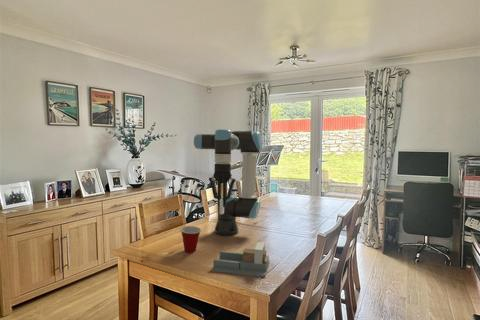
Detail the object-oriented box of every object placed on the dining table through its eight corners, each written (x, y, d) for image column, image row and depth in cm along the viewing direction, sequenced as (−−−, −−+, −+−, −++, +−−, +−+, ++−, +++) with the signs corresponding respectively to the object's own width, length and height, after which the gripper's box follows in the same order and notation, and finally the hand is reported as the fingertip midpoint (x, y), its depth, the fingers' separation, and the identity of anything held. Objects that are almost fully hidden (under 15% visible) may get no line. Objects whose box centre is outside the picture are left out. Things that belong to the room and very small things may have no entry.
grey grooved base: (221, 257, 145) (221, 236, 144) (269, 262, 140) (269, 241, 139) (211, 271, 129) (212, 248, 128) (265, 277, 124) (265, 253, 123)
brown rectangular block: (244, 262, 136) (245, 248, 136) (265, 264, 134) (266, 250, 134) (242, 267, 131) (242, 252, 131) (264, 269, 129) (264, 254, 129)
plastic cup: (195, 256, 146) (195, 232, 145) (176, 253, 149) (176, 230, 148) (204, 248, 156) (204, 227, 155) (186, 246, 159) (186, 224, 158)
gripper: (206, 163, 131) (205, 214, 133) (234, 164, 128) (233, 216, 130) (211, 162, 139) (210, 210, 140) (238, 163, 136) (237, 212, 137)
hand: (221, 213), depth 135 cm, fingers closed
